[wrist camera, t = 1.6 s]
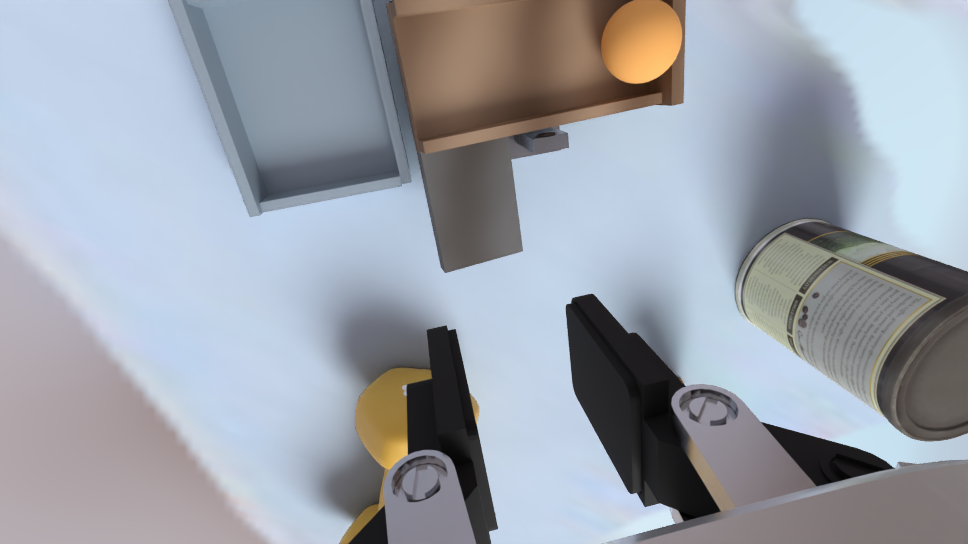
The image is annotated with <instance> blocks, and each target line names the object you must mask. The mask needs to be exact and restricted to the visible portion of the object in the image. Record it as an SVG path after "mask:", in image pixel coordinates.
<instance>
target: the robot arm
mask: <svg viewBox="0 0 968 544" xmlns="http://www.w3.org/2000/svg"><path fill="white" fill-rule="evenodd" d="M566 317H567V328H568V339H569V350H570V361H571V372H572V383H573V388H574V392H575V395H576V397H577V399H578V401H579V402H580V404H581V406H582V408H583V410H584V412H585V413H586V415H587V417H588V419H589V421H590V423H591V424H592V426H593V428H594V430H595V432H596V433H597V435H598V437H599V439H600V441H601V443H602V444H603V446H604V448H605V450H606V452H607V454H608V455H609V457H610V459H611V461H612V463H613V465H614V466H615V468H616V470H617V472H618V474H619V475H620V477H621V479H622V481H623V483H624V485H625V486H626V488H627V490H628V492H629V493H630V494H634V493H637V494H638V496H639V498H640V499H641V501H642V503H643V505H644V506H645V507H647V506H651V505H655V504H658V503H661V504H663V505H666V506H668V507H670V512H671V515H672V518H673V520H674V522H675V524H673V525H669V526H666V527H662V528H658V529H654V530H651V531H647V532H643V533H639V534H636V535H632V536H628V537H625V538H621V539H618V540H614V541H610V542H606V543H602V544H968V460H949V461H939V462H931V463H923V464H912V463H903V462H898V463H897V467H896V468H893V467H892V466H890V465H889V464H888V463H887V462H886V461H884V460H882V459H880V458H879V457H877V456H875V455H873V454H871V453H868V452H866V451H863V450H860V449H857V448H854V447H850V446H847V445H843V444H839V443H836V442H832V441H828V440H825V439H821V438H817V437H814V436H810V435H806V434H803V433H799V432H795V431H792V430H788V429H784V428H781V427H777V426H773V425H770V424H766V423H762V422H760V421H759V420H758V418H757V417H756V416H755V415H754V414H753V413H752V412H751V410H750V409H749V408H748V407H747V406H746V405H745V403H744V402H743V401H742V400H741V399H740V398H738V397H737V396H736V395H735V394H733V393H731V392H730V391H728V390H726V389H723V388H720V387H717V386H713V385H705V384H697V385H690V386H685V385H684V384H683V383H682V382H681V381H680V380H679V379H678V377H677V376H676V375H675V374H674V373H673V372H672V371H671V370H670V369H669V368H668V366H667V365H666V364H665V363H664V362H663V361H662V360H661V359H660V358H659V357H658V356H657V354H656V353H655V352H654V351H653V350H652V349H651V348H650V347H649V346H648V345H647V344H646V342H645V341H644V340H643V339H642V338H641V337H640V336H639V335H638V334H637V333H629V334H628V333H627V331H626V330H625V329H624V328H623V327H622V326H621V325H620V324H619V322H618V321H617V320H616V319H615V318H614V317H613V316H612V314H611V313H610V312H609V311H608V310H607V309H606V308H605V307H604V305H603V304H602V303H601V302H600V301H599V300H598V299H597V297H596V296H595V295H594V294H588V295H584V296H579V297H575V298H572V302H571V304H567V305H566ZM427 337H428V347H429V356H430V366H431V375H432V379H427V380H423V381H419V382H414V383H410V384H407V388H406V393H407V442H408V455H407V456H405V457H403V458H402V459H400V460H399V461H398V462H396V463H395V464H394V466H393V467H392V468H391V469H390V470H389V472H388V474H387V476H386V478H385V480H384V489H383V490H384V501H385V505H384V506H383V507H382V508H381V509H380V510H379V511H378V512H377V513H376V515H375V516H374V517H373V518H372V519H371V520H370V521H369V522H368V523H367V524H366V525H365V526H364V527H363V528H362V529H361V530H360V532H359V533H358V534H357V535H356V536H355V537H354V538H353V539H352V540H351V541H350V542H349V543H348V544H491V540H490V535H489V531H492V530H496V529H498V526H497V522H496V517H495V512H494V507H493V502H492V497H491V493H490V488H489V483H488V478H487V473H486V468H485V464H484V459H483V454H482V449H481V444H480V439H479V435H478V430H477V425H476V420H475V416H474V411H473V407H472V402H471V397H470V393H469V388H468V384H467V379H466V375H465V370H464V365H463V361H462V356H461V352H460V347H459V342H458V338H457V333H456V329H453V330H449V331H448V329H447V326H442V327H437V328H433V329H428V330H427Z"/></svg>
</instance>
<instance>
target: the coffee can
mask: <svg viewBox="0 0 968 544" xmlns="http://www.w3.org/2000/svg"><path fill="white" fill-rule="evenodd" d="M735 295H736V302H737V305H738V309H739V311H740V313H741V314H742V316H743V317H744V318H745V319H746V320H747V321H748V322H749V323H750V324H752V325H753V326H755V327H758V328H759V329H761V330H762V331H763V332H765V333H766V334H768V335H769V336H771V337H772V338H773V339H775V340H776V341H778V342H779V343H780V344H782V345H783V346H785V347H786V348H787V349H789V350H790V351H792V352H793V353H795V354H796V355H797V356H799V357H800V358H801V359H803V360H804V361H806V362H807V363H808V364H810V365H811V366H813V367H814V368H816V369H817V370H818V371H820V372H821V373H823V374H824V375H825V376H827V377H828V378H830V379H831V380H833V381H834V382H835V383H837V384H838V385H840V386H841V387H842V388H844V389H845V390H847V391H848V392H849V393H851V394H852V395H854V396H855V397H856V398H858V399H859V400H861V401H862V402H864V403H865V404H866V405H868V406H869V407H871V408H872V409H874V410H875V411H876V412H878V413H879V414H881V415H882V416H883V417H885V418H886V419H888V421H889V422H890V423H891V424H892V425H893V426H894V427H895V428H896V429H898V430H899V431H900V432H902V433H903V434H904V435H906V436H908V437H910V438H912V439H916V440H920V441H941V440H948V439H952V438H956V437H958V436H961V435H964V434H967V433H968V272H967V271H964V270H961V269H958V268H956V267H953V266H950V265H946V264H944V263H941V262H938V261H935V260H932V259H929V258H926V257H923V256H921V255H918V254H915V253H912V252H909V251H906V250H903V249H900V248H897V247H895V246H892V245H889V244H886V243H883V242H880V241H877V240H874V239H871V238H869V237H866V236H862V235H860V234H857V233H854V232H851V231H848V230H845V229H843V228H840V227H836V226H833V225H832V224H830V223H828V222H826V221H823V220H818V219H802V220H797V221H793V222H790V223H787V224H785V225H783V226H781V227H779V228H777V229H775V230H773V231H772V232H770V233H769V234H768V235H767V236H765V237H764V238H763V239H762V240H761V241H760V242H759V243H758V244H757V245H756V246H755V247H754V248H753V250H752V251H751V252H750V253H749V255H748V256H747V258H746V259H745V261H744V263H743V265H742V267H741V269H740V271H739V275H738V278H737V282H736V292H735Z"/></svg>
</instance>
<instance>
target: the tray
mask: <svg viewBox="0 0 968 544" xmlns="http://www.w3.org/2000/svg"><path fill="white" fill-rule="evenodd" d="M168 2H169V4H170V7H171V10H172V12H173V15H174V17H175V20H176V23H177V25H178V28H179V31H180V33H181V36H182V39H183V41H184V44H185V47H186V49H187V52H188V55H189V57H190V60H191V63H192V65H193V68H194V71H195V73H196V76H197V78H198V81H199V84H200V86H201V89H202V92H203V94H204V97H205V100H206V102H207V105H208V108H209V110H210V113H211V116H212V118H213V121H214V124H215V126H216V129H217V132H218V134H219V137H220V140H221V142H222V145H223V147H224V150H225V153H226V155H227V158H228V161H229V163H230V166H231V169H232V171H233V174H234V177H235V179H236V182H237V185H238V187H239V190H240V193H241V195H242V198H243V201H244V203H245V206H246V209H247V211H248V214H249V216H250V217H253V216H259V215H261V214H262V213H263V212H268V211H273V210H278V209H284V208H289V207H294V206H299V205H305V204H310V203H315V202H320V201H326V200H331V199H336V198H342V197H347V196H352V195H357V194H363V193H368V192H373V191H378V190H384V189H389V188H394V187H399V186H402V184H404V183H409V182H411V175H410V171H409V166H408V162H407V157H406V153H405V148H404V143H403V139H402V134H401V130H400V125H399V121H398V116H397V112H396V107H395V102H394V98H393V93H392V89H391V84H390V80H389V75H388V71H387V66H386V61H385V57H384V52H383V48H382V43H381V39H380V34H379V30H378V25H377V20H376V16H375V11H374V7H373V2H372V0H168Z"/></svg>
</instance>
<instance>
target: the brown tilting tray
mask: <svg viewBox="0 0 968 544" xmlns="http://www.w3.org/2000/svg"><path fill="white" fill-rule="evenodd" d="M631 1H633V0H393V1H392V2H389V3H388V4H387V5H386V7H387V12H388V16H389V21H390V26H391V31H392V35H393V40H394V45H395V50H396V55H397V59H398V64H399V69H400V74H401V78H402V83H403V88H404V93H405V98H406V102H407V107H408V112H409V117H410V121H411V126H412V131H413V136H414V140H415V145H416V150H417V155H418V160H419V164H420V169H421V174H422V179H423V183H424V188H425V193H426V198H427V203H428V207H429V212H430V217H431V222H432V226H433V231H434V236H435V241H436V246H437V250H438V255H439V260H440V265H441V268H442V269H443V271H444V272H445V273H447V272H451V271H454V270H458V269H461V268H465V267H468V266H472V265H475V264H479V263H483V262H486V261H490V260H493V259H497V258H500V257H504V256H507V255H511V254H514V253H518V252H521V251H523V248H522V240H521V232H520V225H519V217H518V209H517V201H516V193H515V185H514V178H513V170H512V162H511V154H510V146H509V138H508V136H512V135H517V134H521V133H526V132H531V131H535V130H540V129H545V128H549V127H554V126H559V125H563V124H568V123H573V122H577V121H582V120H587V119H591V118H596V117H601V116H605V115H610V114H615V113H619V112H624V111H629V110H633V109H638V108H643V107H647V106H652V105H670V106H672V105H677V104H681V103H683V96H684V51H685V7H686V0H661V1H663V2H665V3H667V4H668V5H669V6H670V7H671V8H672V9H673V10H674V11H675V12H676V14H677V16H678V18H679V20H680V23H681V27H682V42H681V47H680V50H679V53H678V55H677V57H676V59H675V61H674V62H673V64H672V65H671V66H670V67H669V68H668V69H667V70H666V71H665V72H664V73H663V74H662V75H660V76H659V77H657V78H656V79H653V80H651V81H649V82H645V83H638V84H634V83H627V82H624V81H621V80H619V79H618V78H616V77H615V76H614V75H612V74H611V73H610V71H609V70H608V69H607V67H606V65H605V63H604V61H603V58H602V53H601V41H602V36H603V32H604V29H605V27H606V25H607V23H608V21H609V20H610V18H611V17H612V16H613V14H614V13H615V12H616V11H617V10H618V9H620V8H621V7H622V6H623V5H625V4H627V3H629V2H631Z"/></svg>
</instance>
